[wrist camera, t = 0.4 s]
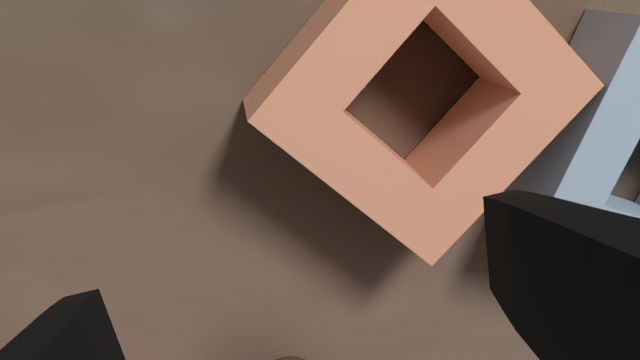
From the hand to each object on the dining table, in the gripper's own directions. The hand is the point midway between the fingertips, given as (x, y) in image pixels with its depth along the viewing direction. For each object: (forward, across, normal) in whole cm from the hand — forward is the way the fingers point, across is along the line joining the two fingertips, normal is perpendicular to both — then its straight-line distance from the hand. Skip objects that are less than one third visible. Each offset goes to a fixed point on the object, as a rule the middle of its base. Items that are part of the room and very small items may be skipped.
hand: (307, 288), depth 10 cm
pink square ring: (+10, -5, -1) cm, 11 cm away
